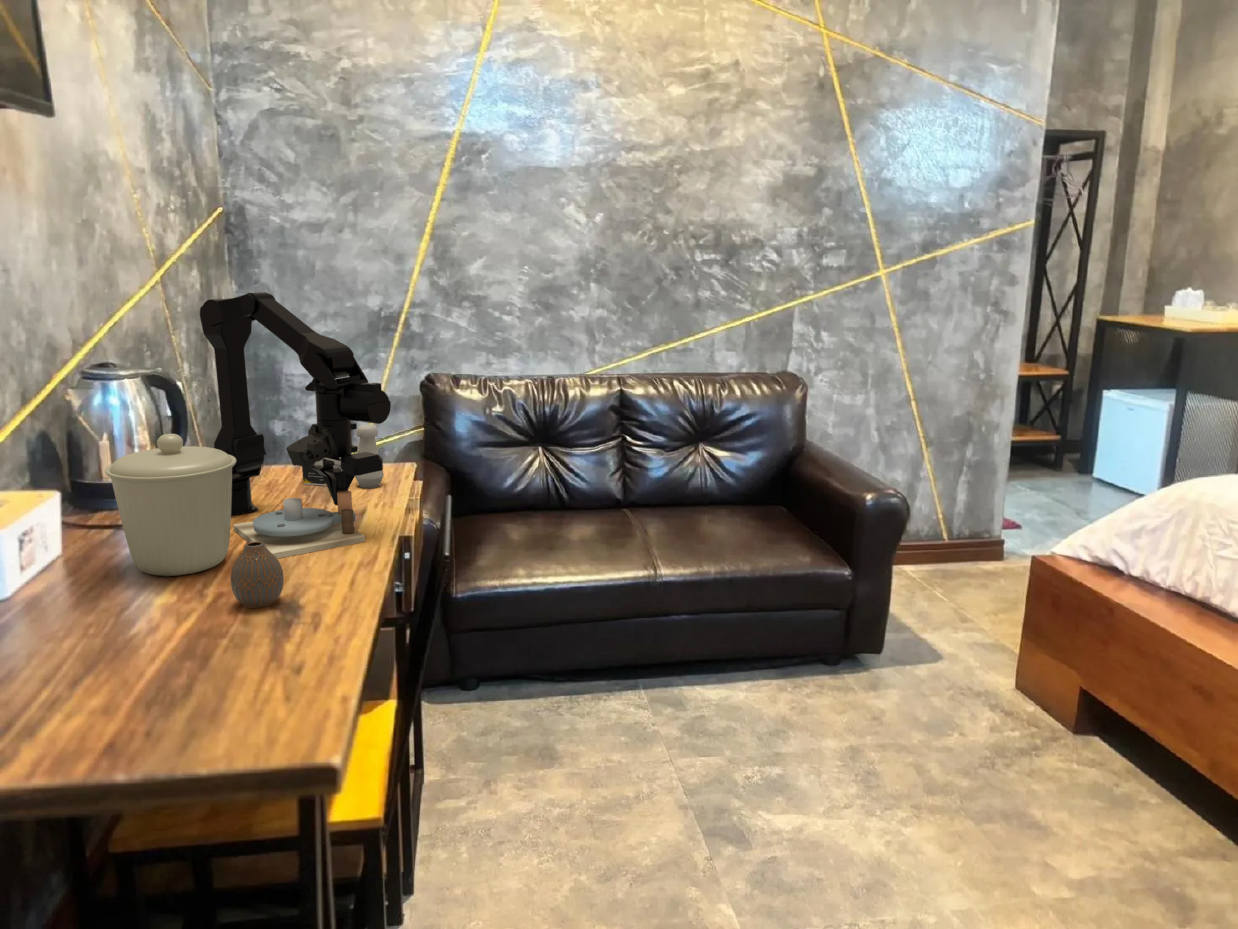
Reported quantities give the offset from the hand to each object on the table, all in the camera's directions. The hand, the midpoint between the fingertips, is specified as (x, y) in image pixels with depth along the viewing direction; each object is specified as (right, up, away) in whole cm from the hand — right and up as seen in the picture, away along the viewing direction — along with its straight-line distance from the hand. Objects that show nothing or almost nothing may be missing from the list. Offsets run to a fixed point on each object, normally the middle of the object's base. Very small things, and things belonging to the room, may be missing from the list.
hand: (338, 504), depth 160 cm
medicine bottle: (-13, +3, +35) cm, 37 cm away
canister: (-19, -9, -18) cm, 28 cm away
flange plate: (-4, -3, -4) cm, 7 cm away
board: (-6, -5, -3) cm, 9 cm away
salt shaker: (-3, +2, +31) cm, 32 cm away
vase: (-1, -13, -33) cm, 35 cm away
